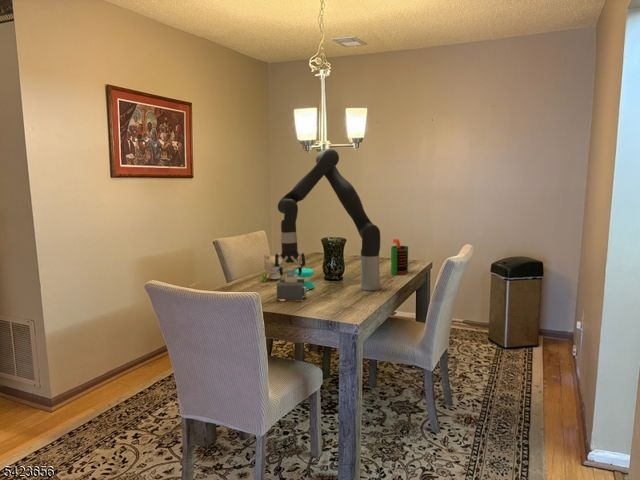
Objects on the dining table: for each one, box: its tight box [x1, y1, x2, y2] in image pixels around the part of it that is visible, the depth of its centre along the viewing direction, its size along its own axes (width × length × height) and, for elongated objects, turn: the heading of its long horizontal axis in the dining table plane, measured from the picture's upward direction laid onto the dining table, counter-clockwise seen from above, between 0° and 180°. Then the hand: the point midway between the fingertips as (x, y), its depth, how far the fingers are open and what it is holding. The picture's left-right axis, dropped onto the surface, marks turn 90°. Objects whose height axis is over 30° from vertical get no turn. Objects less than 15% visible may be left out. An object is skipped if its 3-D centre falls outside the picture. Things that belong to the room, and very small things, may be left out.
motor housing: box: [276, 278, 308, 300], centre depth 221 cm, size 13×10×8 cm
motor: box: [390, 238, 409, 276], centre depth 267 cm, size 10×9×20 cm
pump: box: [284, 268, 298, 283], centre depth 220 cm, size 5×5×7 cm
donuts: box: [295, 267, 315, 290], centre depth 239 cm, size 10×10×10 cm
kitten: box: [261, 252, 285, 281], centre depth 261 cm, size 15×10×15 cm
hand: (290, 275), depth 220 cm, fingers open, 8 cm apart
